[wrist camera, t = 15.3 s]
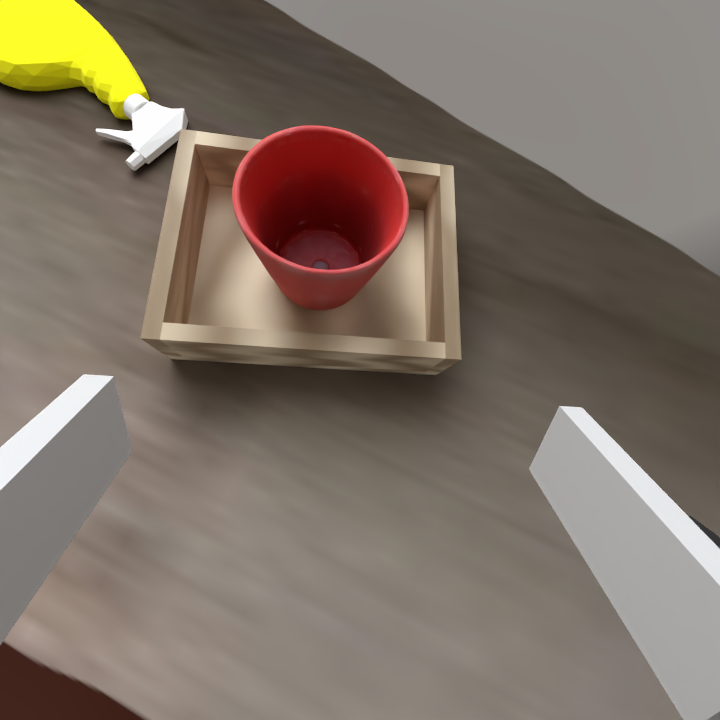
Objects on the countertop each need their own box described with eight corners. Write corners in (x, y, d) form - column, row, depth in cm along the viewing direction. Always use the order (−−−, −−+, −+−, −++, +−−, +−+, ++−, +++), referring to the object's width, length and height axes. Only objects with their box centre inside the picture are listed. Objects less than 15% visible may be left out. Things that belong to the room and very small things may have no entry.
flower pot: (340, 353, 30) (354, 308, 21) (229, 283, 30) (193, 207, 21) (402, 259, 33) (439, 183, 24) (300, 196, 33) (297, 95, 24)
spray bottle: (29, -21, 37) (216, 124, 36) (-72, 32, 34) (130, 191, 33) (6, -60, 34) (208, 95, 33) (-107, -7, 31) (114, 166, 30)
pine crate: (432, 208, 36) (453, 166, 31) (435, 375, 32) (461, 359, 26) (201, 180, 33) (180, 129, 28) (171, 359, 29) (140, 338, 24)
